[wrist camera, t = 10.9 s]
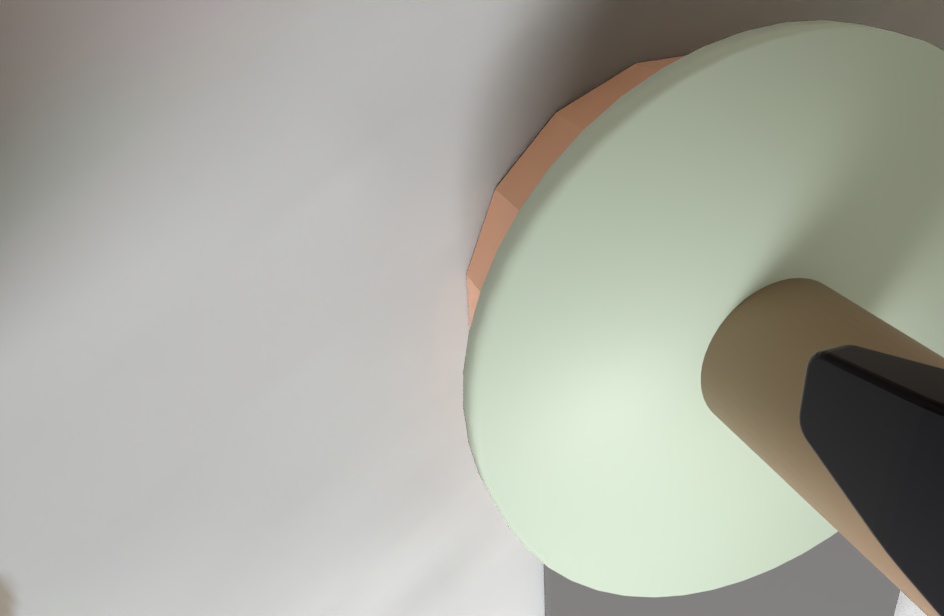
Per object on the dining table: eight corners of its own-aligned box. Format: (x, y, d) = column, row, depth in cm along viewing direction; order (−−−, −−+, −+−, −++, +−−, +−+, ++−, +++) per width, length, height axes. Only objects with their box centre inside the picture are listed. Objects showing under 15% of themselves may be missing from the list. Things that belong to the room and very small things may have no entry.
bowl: (480, 487, 26) (533, 580, 23) (453, 91, 20) (519, 138, 17) (811, 391, 29) (900, 460, 26) (870, 27, 23) (995, 55, 20)
